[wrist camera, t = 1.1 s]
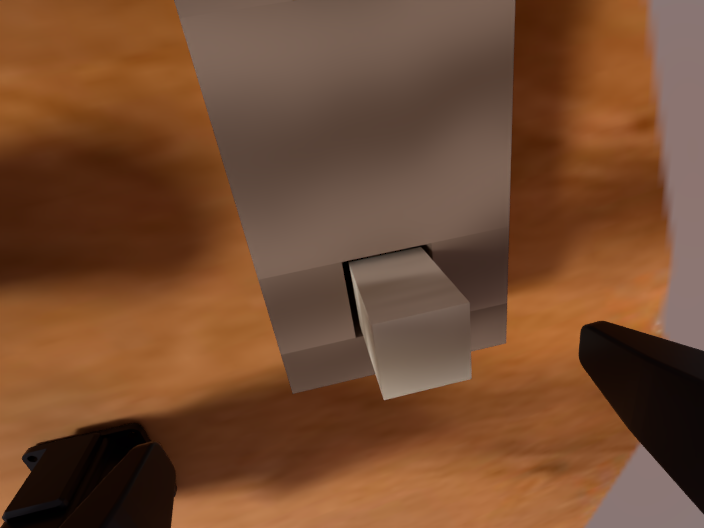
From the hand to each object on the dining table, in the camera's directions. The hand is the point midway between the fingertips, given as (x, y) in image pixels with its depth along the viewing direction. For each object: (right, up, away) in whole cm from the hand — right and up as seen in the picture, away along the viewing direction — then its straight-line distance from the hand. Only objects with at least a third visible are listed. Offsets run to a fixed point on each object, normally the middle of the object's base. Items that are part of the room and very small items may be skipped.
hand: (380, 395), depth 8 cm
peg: (+1, +2, +8) cm, 8 cm away
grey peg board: (-1, +9, +9) cm, 13 cm away
